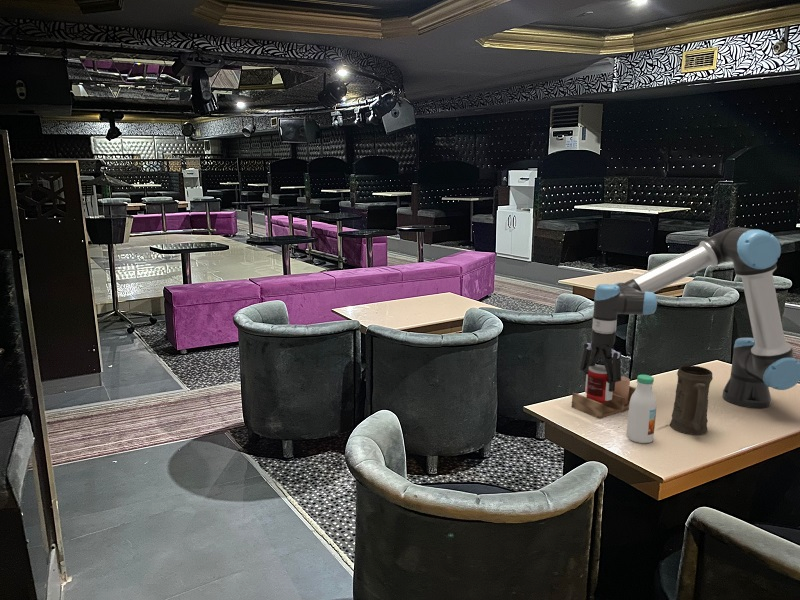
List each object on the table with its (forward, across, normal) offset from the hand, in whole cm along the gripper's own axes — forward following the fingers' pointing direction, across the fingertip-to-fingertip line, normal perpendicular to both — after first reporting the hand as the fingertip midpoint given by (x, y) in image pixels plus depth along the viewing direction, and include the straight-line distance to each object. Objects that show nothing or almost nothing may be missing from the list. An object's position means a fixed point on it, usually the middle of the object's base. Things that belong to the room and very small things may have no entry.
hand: (598, 395), depth 201 cm
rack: (+6, 0, +6) cm, 8 cm away
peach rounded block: (+5, 0, +11) cm, 12 cm away
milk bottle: (+6, +21, -5) cm, 23 cm away
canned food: (+1, 0, 0) cm, 1 cm away
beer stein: (+6, +26, +14) cm, 30 cm away
